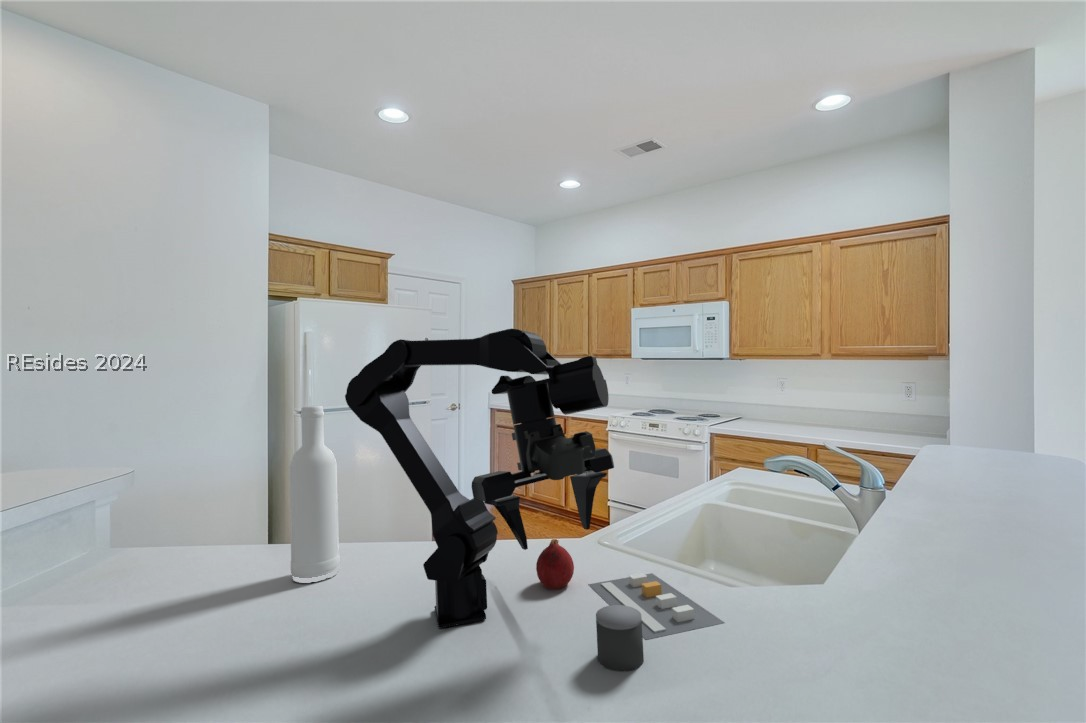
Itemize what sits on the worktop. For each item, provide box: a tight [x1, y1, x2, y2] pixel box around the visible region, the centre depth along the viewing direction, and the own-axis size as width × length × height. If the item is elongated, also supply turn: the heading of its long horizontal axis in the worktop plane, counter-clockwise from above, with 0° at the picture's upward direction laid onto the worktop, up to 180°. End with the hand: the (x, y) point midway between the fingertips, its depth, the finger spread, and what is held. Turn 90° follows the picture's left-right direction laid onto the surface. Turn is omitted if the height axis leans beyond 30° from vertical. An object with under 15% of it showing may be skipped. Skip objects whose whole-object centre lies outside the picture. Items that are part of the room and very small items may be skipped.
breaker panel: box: [587, 572, 726, 641], centre depth 69 cm, size 11×18×2 cm, turn 17°
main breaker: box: [642, 581, 662, 597], centre depth 71 cm, size 2×1×1 cm, turn 107°
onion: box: [535, 537, 575, 590], centre depth 76 cm, size 6×6×8 cm
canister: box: [595, 605, 645, 673], centre depth 55 cm, size 5×5×6 cm
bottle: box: [289, 405, 341, 578], centre depth 89 cm, size 8×8×30 cm
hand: (556, 538), depth 65 cm, fingers open, 9 cm apart
